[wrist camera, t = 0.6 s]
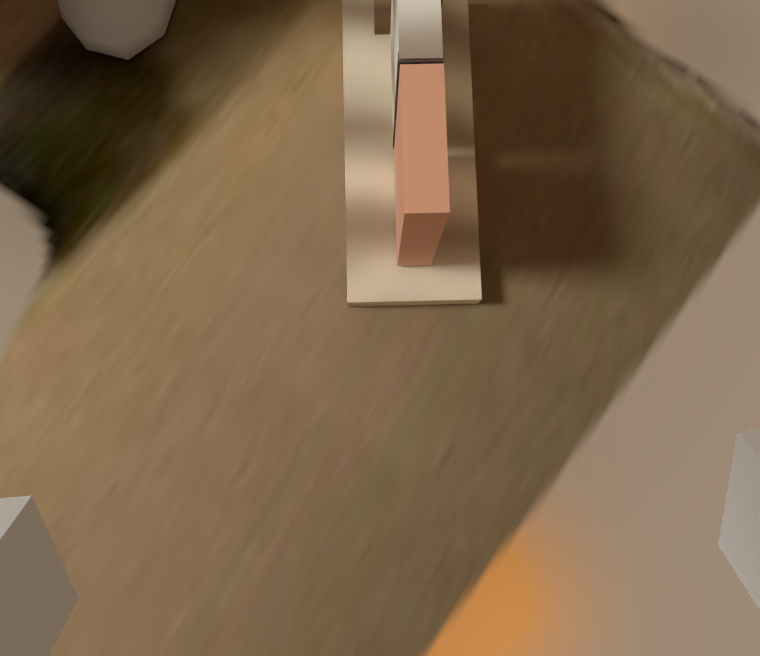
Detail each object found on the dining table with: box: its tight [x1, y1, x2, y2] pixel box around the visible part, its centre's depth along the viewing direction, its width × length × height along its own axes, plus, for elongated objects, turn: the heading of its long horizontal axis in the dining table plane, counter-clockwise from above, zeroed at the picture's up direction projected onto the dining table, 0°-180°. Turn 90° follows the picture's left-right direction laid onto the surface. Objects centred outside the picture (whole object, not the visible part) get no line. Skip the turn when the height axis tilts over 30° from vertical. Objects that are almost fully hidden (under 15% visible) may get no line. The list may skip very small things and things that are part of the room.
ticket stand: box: [342, 0, 482, 307], centre depth 35 cm, size 20×8×12 cm, turn 1°
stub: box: [394, 64, 450, 266], centre depth 33 cm, size 7×2×10 cm, turn 1°
